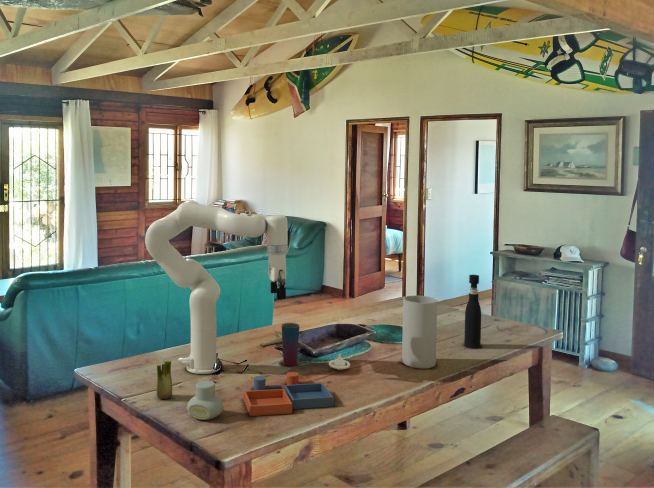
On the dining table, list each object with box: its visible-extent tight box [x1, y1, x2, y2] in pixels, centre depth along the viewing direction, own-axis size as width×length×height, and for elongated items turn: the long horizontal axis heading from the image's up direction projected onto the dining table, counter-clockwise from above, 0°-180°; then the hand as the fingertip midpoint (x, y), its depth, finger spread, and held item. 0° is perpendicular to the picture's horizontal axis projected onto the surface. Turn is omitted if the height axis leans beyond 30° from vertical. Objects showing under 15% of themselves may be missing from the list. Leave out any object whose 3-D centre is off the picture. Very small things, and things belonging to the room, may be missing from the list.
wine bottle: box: [463, 274, 482, 349], centre depth 252 cm, size 6×6×30 cm
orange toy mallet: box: [286, 371, 314, 385], centre depth 208 cm, size 9×4×4 cm, turn 100°
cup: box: [281, 322, 300, 367], centre depth 229 cm, size 7×7×15 cm
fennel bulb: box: [155, 360, 173, 400], centre depth 196 cm, size 6×5×12 cm
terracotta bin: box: [243, 388, 293, 417], centre depth 190 cm, size 13×12×3 cm
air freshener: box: [186, 380, 224, 421], centre depth 183 cm, size 11×8×10 cm
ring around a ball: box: [328, 353, 351, 371], centre depth 224 cm, size 8×6×8 cm
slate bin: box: [283, 382, 334, 410], centre depth 195 cm, size 13×12×3 cm
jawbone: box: [259, 329, 282, 347], centre depth 257 cm, size 9×20×2 cm, turn 161°
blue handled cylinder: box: [253, 375, 282, 391], centre depth 204 cm, size 9×4×4 cm, turn 100°
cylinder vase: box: [401, 295, 438, 370], centre depth 230 cm, size 12×12×25 cm
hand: (278, 295), depth 219 cm, fingers open, 9 cm apart
